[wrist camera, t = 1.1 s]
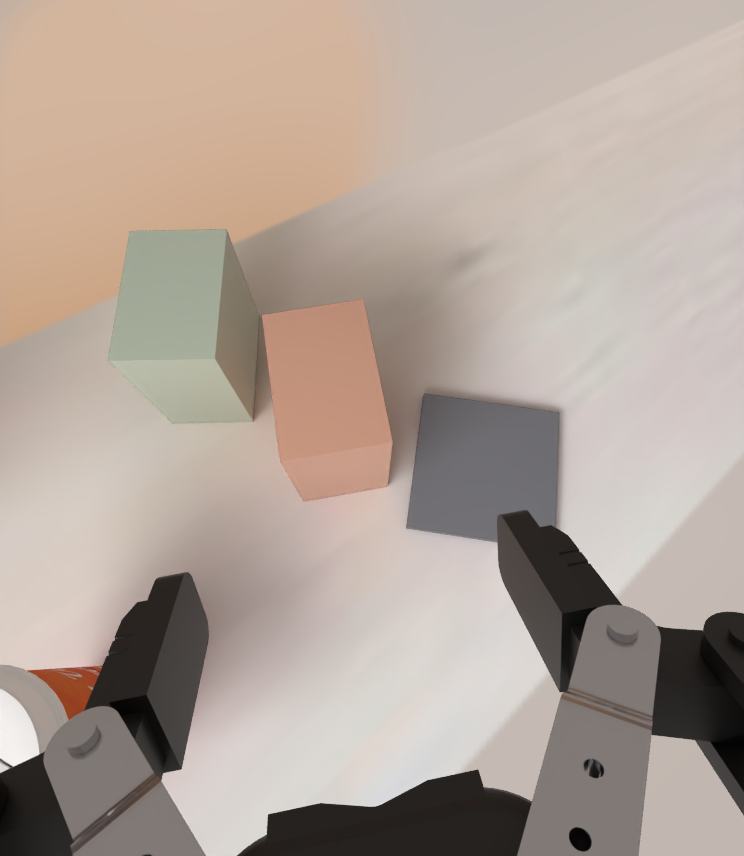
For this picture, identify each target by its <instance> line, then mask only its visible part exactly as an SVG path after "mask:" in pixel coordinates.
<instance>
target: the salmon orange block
mask: <svg viewBox="0 0 744 856" xmlns="http://www.w3.org/2000/svg"><path fill="white" fill-rule="evenodd" d="M262 321H263V329H264V337H265V345H266V353H267V361H268V369H269V377H270V385H271V393H272V401H273V409H274V417H275V425H276V433H277V441H278V449H279V457H280V462H281V464H282V466H283V467H284V469H285V471H286V472H287V474H288V476H289V477H290V479H291V481H292V482H293V484H294V486H295V488H296V489H297V491H298V493H299V494H300V496H301V498H302V499H303V501H309V500H314V499H320V498H326V497H331V496H337V495H343V494H348V493H354V492H359V491H365V490H371V489H376V488H382V487H387V486H388V478H389V470H390V461H391V453H392V445H393V441H392V436H391V431H390V426H389V421H388V416H387V411H386V407H385V402H384V397H383V392H382V387H381V382H380V377H379V373H378V368H377V363H376V358H375V353H374V348H373V343H372V338H371V334H370V329H369V324H368V319H367V314H366V309H365V304H364V299H361V300H355V301H348V302H342V303H335V304H329V305H322V306H316V307H309V308H303V309H296V310H290V311H284V312H277V313H271V314H264V315H262Z"/></svg>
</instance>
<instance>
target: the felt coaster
mask: <svg viewBox="0 0 744 856" xmlns="http://www.w3.org/2000/svg"><path fill="white" fill-rule="evenodd" d="M558 435H559V412H552V411H545V410H538V409H531V408H524V407H517V406H510V405H502V404H495V403H488V402H481V401H474V400H467V399H460V398H452V397H445V396H438V395H431V394H424V396H423V403H422V411H421V419H420V426H419V434H418V442H417V449H416V457H415V465H414V472H413V480H412V488H411V495H410V503H409V511H408V518H407V526H406V528H408V529H414V530H421V531H427V532H434V533H440V534H447V535H453V536H460V537H466V538H473V539H479V540H486V541H492V542H498V537H497V517H498V515H500V514H506V513H511V512H516V511H522V510H527V511H529V513H530V514H531V515H532V517H533V518H534V519H535V521H536V522H537V524H538V525H539V527H543V526H549V525H552V526H554V527H555V526H556V496H557V465H558Z"/></svg>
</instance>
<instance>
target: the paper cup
mask: <svg viewBox="0 0 744 856" xmlns="http://www.w3.org/2000/svg"><path fill="white" fill-rule="evenodd" d="M101 669H102V666H94V667H76V668H60V669H44V670H28V671H26V670H24V669H21V668H17V667H13V666H10V665H0V773H1V772H3V771H6V770H8V769H10V768H12V767H14V766H16V765H18V764H20V763H22V762H25V761H27V760H29V759H31V758H33V757H35V756H37V755H39V754H41V753H43V752H45V750H46V747H47V745H48V743H49V741H50V740H51V738H52V737H53V736H54V734H55V733H56V732H57V731H58V730H59V728H60V727H61V726H63V725H64V724H65V723H66V722H67V721H68V720H70V719H71V718H72V717H74V716H76V715H77V714H79V713H81V712H83V711H84V709H85V707H86V704H87V702H88V700H89V697H90V695H91V693H92V690H93V688H94V685H95V683H96V681H97V678H98V676H99V674H100V671H101Z"/></svg>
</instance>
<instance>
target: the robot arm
mask: <svg viewBox="0 0 744 856" xmlns="http://www.w3.org/2000/svg"><path fill="white" fill-rule="evenodd" d="M497 537H498V561H499V569H500V573H501V577H502V580H503V582H504V585H505V587H506V589H507V591H508V593H509V595H510V597H511V599H512V600H513V602H514V604H515V606H516V608H517V610H518V612H519V614H520V616H521V618H522V620H523V622H524V624H525V626H526V628H527V630H528V631H529V633H530V635H531V637H532V639H533V641H534V643H535V645H536V647H537V649H538V651H539V653H540V655H541V657H542V659H543V661H544V663H545V664H546V666H547V668H548V670H549V672H550V674H551V676H552V678H553V680H554V682H555V684H556V686H557V688H558V690H559V691H560V692H563V693H562V695H561V698H560V702H559V706H558V709H557V713H556V716H555V720H554V724H553V727H552V731H551V734H550V738H549V742H548V746H547V749H546V753H545V757H544V760H543V764H542V767H541V771H540V775H539V778H538V782H537V785H536V789H535V793H534V797H533V800H532V801H530V800H528V799H526V798H523V797H521V796H519V795H516V794H514V793H511V792H508V791H504V790H499V789H494V788H486V787H485V788H484V787H483V784H482V781H481V777H480V774H479V771H478V770H474V771H469V772H464V773H460V774H455V775H450V776H446V777H441V778H436V779H432V780H427V781H425V782H424V783H422V784H420V785H418V786H416V787H414V788H412V789H410V790H408V791H406V792H404V793H403V794H401V795H399V796H397V797H395V798H393V799H391V800H389V801H387V802H385V803H384V804H382V805H379V806H376V807H364V806H350V805H337V804H323V803H320V804H315V805H310V806H306V807H301V808H296V809H292V810H287V811H282V812H278V813H273V814H268V825H267V835H265V836H264V837H262V838H260V839H258V840H257V841H255V842H254V843H252V844H251V845H250V846H248V847H247V848H246V849H244V850H243V851H242V852H241V853H240V854H238V855H237V856H638V854H639V845H640V835H641V826H642V817H643V807H644V797H645V788H646V780H647V770H648V761H649V752H650V742H651V735H658V736H666V737H675V738H683V739H692V740H695V741H696V742H697V744H698V745H699V747H700V748H701V750H702V752H703V753H704V755H705V756H706V758H707V759H708V761H709V762H710V764H711V765H712V767H713V769H714V770H715V771H716V773H717V775H718V776H719V778H720V779H721V781H722V782H723V784H724V785H725V787H726V789H727V790H728V792H729V793H730V795H731V796H732V798H733V799H734V801H735V802H736V804H737V806H738V807H739V809H740V810H741V812H742V813H743V815H744V614H743V613H737V612H721V613H717V614H714V615H712V616H710V617H709V618H708V619H707V620H706V622H705V625H704V628H703V631H701V630H686V629H672V628H663V627H659V626H656V625H655V624H654V622H653V621H652V620H651V619H650V618H649V617H647V616H646V615H645V614H643V613H641V612H639V611H637V610H635V609H633V608H629V607H626V606H622V604H621V603H620V602H619V600H618V599H617V598H616V597H615V595H614V594H613V593H612V591H611V590H610V589H609V588H608V586H607V585H606V584H605V582H604V581H603V580H602V579H601V577H600V576H599V575H598V573H597V572H596V571H595V569H594V568H593V567H592V566H591V564H588V560H587V559H586V558H585V557H584V555H583V554H582V553H581V552H579V549H578V548H577V546H576V545H575V544H574V542H573V541H572V540H571V539H570V537H569V536H568V535H566V534H565V533H563V532H562V531H560V530H558V529H557V528H555V527H554V526H552V525H549V526H543V527H539V525H538V524H537V522H536V521H535V519H534V518H533V517H532V515H531V514H530V513H529V511H527V510H522V511H516V512H511V513H506V514H500V515H498V517H497ZM208 636H209V631H208V622H207V618H206V614H205V612H204V609H203V606H202V603H201V601H200V598H199V595H198V592H197V590H196V587H195V584H194V581H193V579H192V576H191V575H190V573H188V572H185V573H180V574H175V575H169V576H164V577H159V578H157V579H156V580H155V582H154V584H153V587H152V590H151V592H150V595H149V598H148V600H147V601H142V602H137V603H136V604H135V606H134V607H133V608H132V609H131V610H130V611H129V612H128V614H127V615H126V616H125V617H124V618H123V619H122V621H121V624H120V626H119V628H118V631H117V633H116V636H115V641H113V643H112V645H111V647H110V650H109V652H108V653H109V656H107V657H106V659H105V662H104V664H103V666H102V669H101V671H100V674H99V676H98V678H97V681H96V683H95V685H94V688H93V690H92V693H91V695H90V697H89V700H88V702H87V704H86V707H85V709H84V711H83V712H81V713H79V714H77V715H76V716H74V717H72V718H71V719H70V720H68V721H67V722H66V723H65V724H64V725H63V726H61V727H60V728H59V730H58V731H57V732H56V733H55V734H54V736H53V737H52V738H51V740H50V741H49V743H48V745H47V747H46V750H45V752H43V753H41V754H39V755H37V756H35V757H33V758H31V759H29V760H27V761H25V762H22V763H20V764H18V765H16V766H14V767H12V768H10V769H8V770H6V771H3V772H1V773H0V856H206V855H205V854H204V852H203V850H202V849H201V847H200V845H199V844H198V842H197V840H196V839H195V837H194V835H193V834H192V832H191V830H190V829H189V827H188V825H187V824H186V822H185V820H184V819H183V817H182V815H181V814H180V812H179V810H178V809H177V807H176V805H175V804H174V802H173V800H172V799H171V797H170V795H169V794H168V792H167V790H166V789H165V787H164V785H163V784H162V782H161V779H162V775H163V773H166V772H170V771H175V770H180V769H182V764H183V760H184V755H185V750H186V745H187V740H188V736H189V731H190V726H191V721H192V716H193V712H194V707H195V702H196V697H197V693H198V688H199V683H200V678H201V673H202V669H203V664H204V659H205V654H206V649H207V645H208Z"/></svg>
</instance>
